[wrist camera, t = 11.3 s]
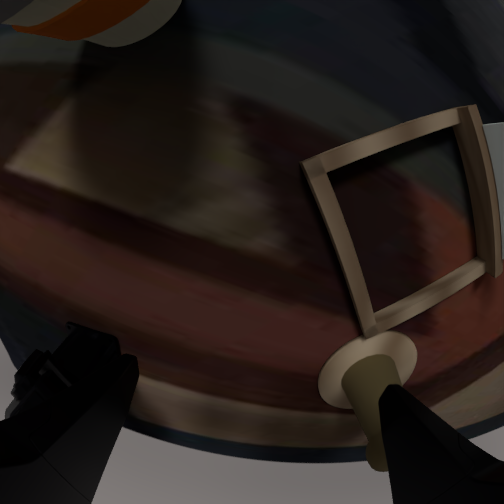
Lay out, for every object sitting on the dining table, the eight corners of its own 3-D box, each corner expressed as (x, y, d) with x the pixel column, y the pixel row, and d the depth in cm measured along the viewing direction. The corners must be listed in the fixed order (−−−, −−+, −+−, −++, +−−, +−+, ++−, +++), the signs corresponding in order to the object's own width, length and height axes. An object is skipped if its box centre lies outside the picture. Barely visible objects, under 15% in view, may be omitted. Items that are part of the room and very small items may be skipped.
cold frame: (361, 329, 23) (397, 404, 14) (299, 162, 18) (332, 166, 10) (504, 247, 19) (560, 281, 11) (477, 101, 15) (548, 96, 6)
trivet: (305, 404, 26) (305, 408, 26) (337, 326, 22) (339, 330, 22) (388, 402, 26) (390, 406, 26) (430, 331, 23) (433, 334, 22)
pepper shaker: (337, 366, 23) (365, 464, 13) (395, 345, 23) (442, 431, 12) (344, 401, 25) (365, 485, 15) (395, 383, 24) (429, 460, 14)
